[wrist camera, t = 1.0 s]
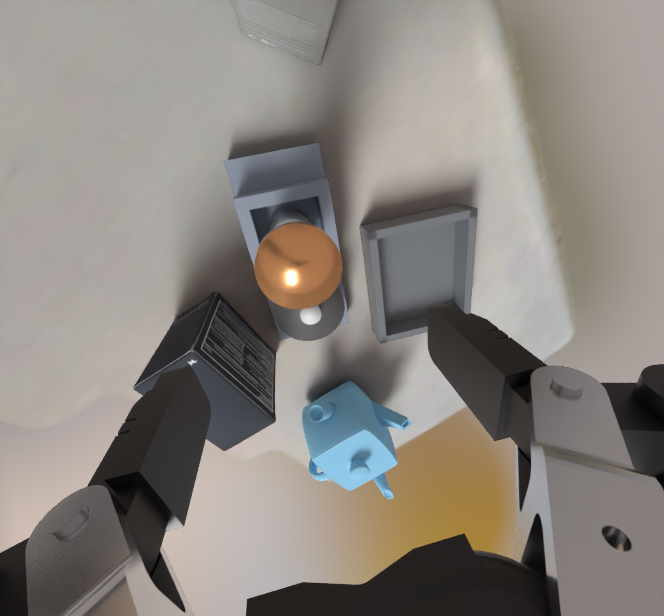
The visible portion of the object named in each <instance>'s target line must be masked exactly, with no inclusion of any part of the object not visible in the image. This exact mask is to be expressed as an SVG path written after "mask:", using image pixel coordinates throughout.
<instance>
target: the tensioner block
mask: <svg viewBox="0 0 664 616" xmlns="http://www.w3.org/2000/svg"><path fill="white" fill-rule="evenodd" d="M224 164H225V167H226V170H227V173H228V176H229V180H230V183H231V186H232V189H233V192H234V196H235V197H234V198H233V199H232V200H233V203H234V206H235V209H236V212H237V216H238V219H239V222H240V225H241V228H242V231H243V234H244V237H245V241H246V244H247V247H248V250H249V253H250V256H251V259H252V263H253V266H254V265H255V258H256V253H257V250H258V247H259V245H260V243H261V241H262V240H263V238H264V237H265V236H266V235H267V233H268V230H269V223H270V220H271V218H272V216H273V215H274V214H275V213H276V212H277V211H279V210H280V209H283V208H287V207H293V208H297V209H300V210H301V211H303V212H304V213H305V214H306V215H307V216H308V217H309V219H310V221H311V223H312V224H313V225H315V226H317V227H319V228H321V229H322V230H323V231H325V232H326V233H327V234H328V235H329V236H330V238H331V239H332V240H333V242H334V243H335V245H336V246H337V248H338V250H339V252H340V248H339V242H338V236H337V229H336V223H335V217H334V211H333V205H332V199H331V192H330V186H329V180H327V179H325V173H324V167H323V161H322V155H321V149H320V143H314V144H309V145H303V146H298V147H293V148H288V149H283V150H277V151H272V152H267V153H262V154H257V155H252V156H246V157H241V158H236V159H231V160H226V161H224ZM340 255H341V254H340ZM342 269H343V267H342ZM266 298H267V297H266ZM267 301H268V304H269V307H270V310H271V313H272V317H273V320H274V323H275V326H276V329H277V333H278V336H279V339H280V340H282V339H286V338H290V337H292V338H294V339H298V340H303V341H312V340H317V339H321V338H323V337H325V336H327V335H329V334H330V333H332V332H333V331H334V330H335V329H336V328H337V327H338V326H340V325H344V324H348V323H349V317H348V311H347V305H346V299H345V293H344V287H343V281H342V276H341V279H340V282H339V284H338V287H337V288H336V290H335V291H334V292H333V294H332V295H331V296H330V297H329V298H328V299H326V300H325V301H324V302H322V303H320V304H319V305H316V306H314V307H311V308H306V309H290V308H285V307H282V306H280V305H278V304H276V303H274V302H272V301H271V300H270V299H269V298H267Z"/></svg>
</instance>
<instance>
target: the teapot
mask: <svg viewBox="0 0 664 616" xmlns="http://www.w3.org/2000/svg"><path fill="white" fill-rule="evenodd" d="M302 422H303V429H304V434H305V438H306V442H307V445H308V449H309V452H310V455H311V459H310V463H309V472H310V474H311V475H312V477H313V478H315V479H316V480H319V481H325V480H328V479H329V478H331V479H332V480H333V481H335V482H336V483H337V484H339V485H340V486H342V487H344V488H345V489H347V490H353V489H355V488H356V487H359V486H360V485H362V484H364V483H366V482H368V481H369V480H371V479H374V481H375V482H376V484H377V486H378V487H379V489H380V490H381V492H382V493H383V495H384V496H385V497H386V498H388V499H392V498H393V493H392V491H391V489H390V487H389V485H388V483H387V480H386V476H385V471H387V470H389V469H391V468H392V467H394V466H396V465H397V462H398V461H397V457H396V453H395V449H394V445H393V441H392V438H391V435H390V432H389V429H388V426H389V427H394V428H399V429H403V430H405V429H406V428H407V427H408V426H409V425H410V424H411V422H410V420H409V419H408V418H407V417H405V416H403V415H401V414H399V413H396V412H394V411H392V410H390V409H388V408H386V407H384V406H382V405H379V404H377V403H375V402H373V401H372V400H371V399H370V398H369V397H368V396H367V395H366V394H365V392H364V391H363V390H362V389H361V388H360V387H359V386H357V385H356V384H355V383H354V382H352V381H347V382H345V383H344V384H342V385H340V386H338V387H337V388H335V389H333V390H331V391H330V392H328V393H326V394H325V395H323V396H322V397H320V398H318V399H317V400H315V401H314V402H312V403H311V404H309V405H308V406H306V407H305V408H304V409H303V413H302ZM317 466H318V467H319V468H320V469H321V470H322V471H323V472H321V473H317Z"/></svg>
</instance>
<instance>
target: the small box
mask: <svg viewBox="0 0 664 616" xmlns="http://www.w3.org/2000/svg"><path fill="white" fill-rule="evenodd" d="M275 362H276V353H275V352H274V351H273V350H272V349H271V348H270V347H269V346H268V345H267V344H266V343H265V342H264V341H263V339H262V338H261V337H260V336H259V335H258V334H257V333H256V332H255V331H254V330H253V329H252V328H251V327H250V326H249V325H248V324H247V323H246V321H245V320H244V319H243V318H242V317H241V316H240V315H239V314H238V313H237V312H236V311H235V310H234V309H233V308H232V307H231V306H230V305H229V304H228V303H227V302H226V301H225V299H224V298H223V297H222V296H221V295H220V294H219V293H213V294H211V295H210V296H209V297H208V298H207V299H205V300H204V301H203V302H201V303H200V304H198V305H197V306H195V307H194V308H191V310H189V311H188V312H185V313H184V314H182V315H181V316H180V317H178V319H176V320H175V321H174V322H173V324H172V325H171V327H170V329H169V330H168V332H167V334H166V335H165V337H164V339H163V340H162V342H161V343H160V345H159V347H158V348H157V350H156V351H155V353H154V355H153V356H152V358H151V359H150V361H149V363H148V364H147V366H146V368H145V369H144V371H143V373H142V374H141V376H140V378H139V379H138V381H137V383H136V384H135V385H134V387H133V389H134V390H135V391H137V392H138V393H140V394H141V395H144V394H145V393H146V392H147V391H150V390H152V389H153V387H154V385H155V383H156V381H157V379H158V377H159V376H160V374H161V373H162V372H163V371H166V370H170V369H174V368H178V367H183V366H187V365H188V366H190V367H192V369H193V370H194V372H195V374H196V376H197V378H198V380H199V382H200V384H201V386H202V388H203V390H204V391H205V393H206V395H207V397H208V399H209V402H210V406H211V419H210V423H209V427H208V431H207V435H206V439H207V440H208V441H210V442H211V443H213V444H214V445H216V446H217V447H218V448H220V449H221V450H223V451H226V450H228V449H230V448H231V447H233V446H235V445H237V444H239V443H240V442H242V441H244V440H245V439H247V438H249V437H250V436H252V435H254V434H256V433H257V432H259V431H261V430H262V429H264V428H266V427H267V426H269V425H271V424H273V423H274V422H275V421H276V416H275Z"/></svg>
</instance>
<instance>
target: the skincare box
mask: <svg viewBox="0 0 664 616" xmlns="http://www.w3.org/2000/svg"><path fill="white" fill-rule="evenodd" d="M231 2H232V5H233V8H234V11H235V14H236V17H237V20H238V24H239V27H240V30H241V33H242V34H243V35H245V36H248V37H250V38H253V39H255V40H258V41H260V42H263V43H265V44H268V45H270V46H273V47H275V48H278V49H280V50H283V51H285V52H288V53H290V54H293V55H295V56H297V57H300V58H303V59H305V60H308V61H310V62H313V63H315V64H318V65H320V64H321V62H322V58H323V54H324V50H325V47H326V43H327V39H328V36H329V32H330V28H331V25H332V21H333V18H334V14H335V11H336V7H337V3H338V0H231Z"/></svg>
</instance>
